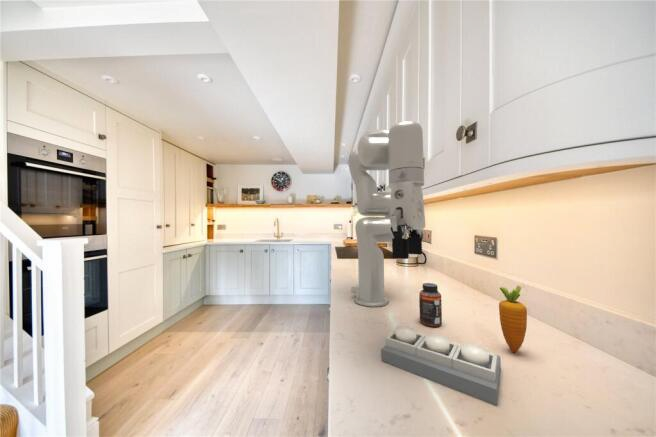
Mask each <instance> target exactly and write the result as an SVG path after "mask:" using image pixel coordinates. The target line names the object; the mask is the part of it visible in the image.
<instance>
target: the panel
mask: <svg viewBox="0 0 656 437" xmlns="http://www.w3.org/2000/svg"><path fill="white" fill-rule="evenodd" d="M426 335H427V334H423V333H419V332H416V340H417V341H416V343H414V344H408V343H405V342H401V341H398V340H396V338H395V329H394V331H392V332H391V333H390V334H389V335H387V337H386V338H385V345H383V347H382V348H381V350H380V351H381V353H380V358H381V362H384V363H386V364H389V365H391V366H393V367H396V368H399V369H401V370H404V371H407V372H409V373H412V374H414V375H417V376H419V377H422V378H425V379H428V380H430V381H433V382H435V383H437V384H440V385H443V386H446V387H447V388H451V389H454V390H455V391H458V392H461V393H463V394H466V395H469V396H472V397H473V398H477V399H478V400H482V401H484V402H487V403H490V404H492V405H495V406H498V399H499V390H500V380H501V379H500V378H501V372H502V371H501V368H502V367H501V355H498V354H494V353H492V352H489V366H487V367H482V366H478V365H475V364H472V363H469V362H466V361H464V360H463V359H462V358H461V345H462V344H459V343H456V342H452V341H449V345H450V352H449V353H448V354H445V355H443V354H440V353H437V352H433V351H430V350H427V349H426Z"/></svg>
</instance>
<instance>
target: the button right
mask: <svg viewBox="0 0 656 437" xmlns="http://www.w3.org/2000/svg"><path fill="white" fill-rule="evenodd" d="M460 345H461V358H462V359H463V360H464V361H466V362H469V363H472V364H475V365H478V366H482V367H487V366H489V353H490V351H489V350H488V349H487V348H486V347H485V346H483V345H481V344H477V343H472V342H464V343H462V344H460Z"/></svg>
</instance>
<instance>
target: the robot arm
mask: <svg viewBox="0 0 656 437" xmlns="http://www.w3.org/2000/svg"><path fill="white" fill-rule="evenodd" d="M423 134H424V133H423V128H422V126H421V124H419V123H418V122H416V121H411V120H410V121H407V120H406V121H401V122H398V123H396V124H394V125H393V126H391V127H390V129H375V128H374V129H370V130H366V131H365V132H364V133H363V134H362V135H361V137H360V139H359V140H358V143H357V144H358V145H357V149H355V150H352V151H350V153H349V156H348V170H349V174H350V177H351V179H352V181H353V184H354V186H355V198H356V199H355V200H356V207H357V211H358V214H360V215H361V216H365V217H361V218H359V219H358V220H357V221H356V223H355V227H354V229H355V230H354V231H355V237H356V242H357V244H356V245H357V259H358V264H357V265H358V266H357V268H358V269H357V270H358V271H357V272H358V273H357V274H358V287H357V286H351V287H350V293H351V294H355V295H356V296H355V297H354V302H355V303H357V305H360V306H364V307H374V308H375V307H376V308H377V307H383V306H387V305H388V304H389V303H390V302H389V300H390V299H389V297H387V296H386V295H385V261H384V260H385V258H384V257H385V256H384V253H383V250H382V249H381V248H380V247H379V246H378V244H379V243H392V246H391V248H392V249H391V252H392V258H393V259H399V260H400V259H402V260H408V259H409V258H410V257H409V256H410V255H422V253H423V243H422V242H423V240H422V239H423V238H422V230H424V229H425V227H426V216H425V205H424V204H425V203H424V194H423V189H422V187H424V186H425V168H424V167H425V166H424V165H425V164H424V162H425V160H424V136H423ZM387 170H388V188H389V189H390V192H389V191H388V192H387V191H378V187H377V182H376V180H375V179H374V178H373V176H372V175H371V174H369V173H368V172H367V171H387Z"/></svg>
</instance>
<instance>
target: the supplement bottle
mask: <svg viewBox="0 0 656 437" xmlns="http://www.w3.org/2000/svg"><path fill="white" fill-rule="evenodd" d="M421 288H422V290H420V291H419V292H418V293H419V294H418V295H419V298H418V301H419V302H418V303H419V304H418V305H419V307H418V308H419V322H420V323H421V324H422V325H424V326H426V327H432V328H437V327H438V328H439V327H441V325H442V324H443V320H442V319H443V314H442V312H443V311H442V308H443V306H442V293H441V292H439V288H438V285H437V284H436V283H433V282H431V283H430V282H423V283H422V287H421Z"/></svg>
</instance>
